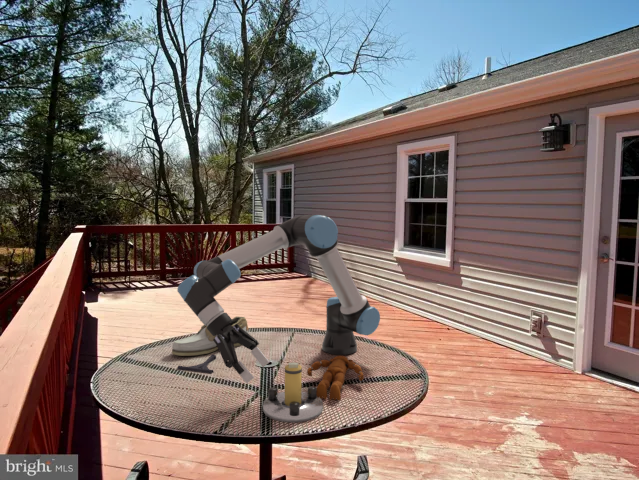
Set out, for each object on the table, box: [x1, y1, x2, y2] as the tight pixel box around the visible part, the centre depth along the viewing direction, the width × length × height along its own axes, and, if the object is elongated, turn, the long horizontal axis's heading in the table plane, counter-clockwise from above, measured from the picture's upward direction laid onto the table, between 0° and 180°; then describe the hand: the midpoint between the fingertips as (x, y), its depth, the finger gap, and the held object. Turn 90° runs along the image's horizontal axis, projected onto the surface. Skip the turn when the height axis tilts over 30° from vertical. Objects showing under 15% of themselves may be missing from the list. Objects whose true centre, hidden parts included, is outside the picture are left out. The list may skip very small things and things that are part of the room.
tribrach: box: [262, 385, 324, 423], centre depth 129 cm, size 18×18×4 cm
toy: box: [306, 355, 365, 401], centre depth 150 cm, size 20×7×30 cm
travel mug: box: [284, 362, 303, 406], centre depth 128 cm, size 5×5×12 cm
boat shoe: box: [171, 316, 250, 357], centre depth 185 cm, size 13×36×12 cm, turn 136°
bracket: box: [176, 354, 217, 374], centre depth 165 cm, size 14×15×3 cm
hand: (259, 372), depth 132 cm, fingers open, 13 cm apart
